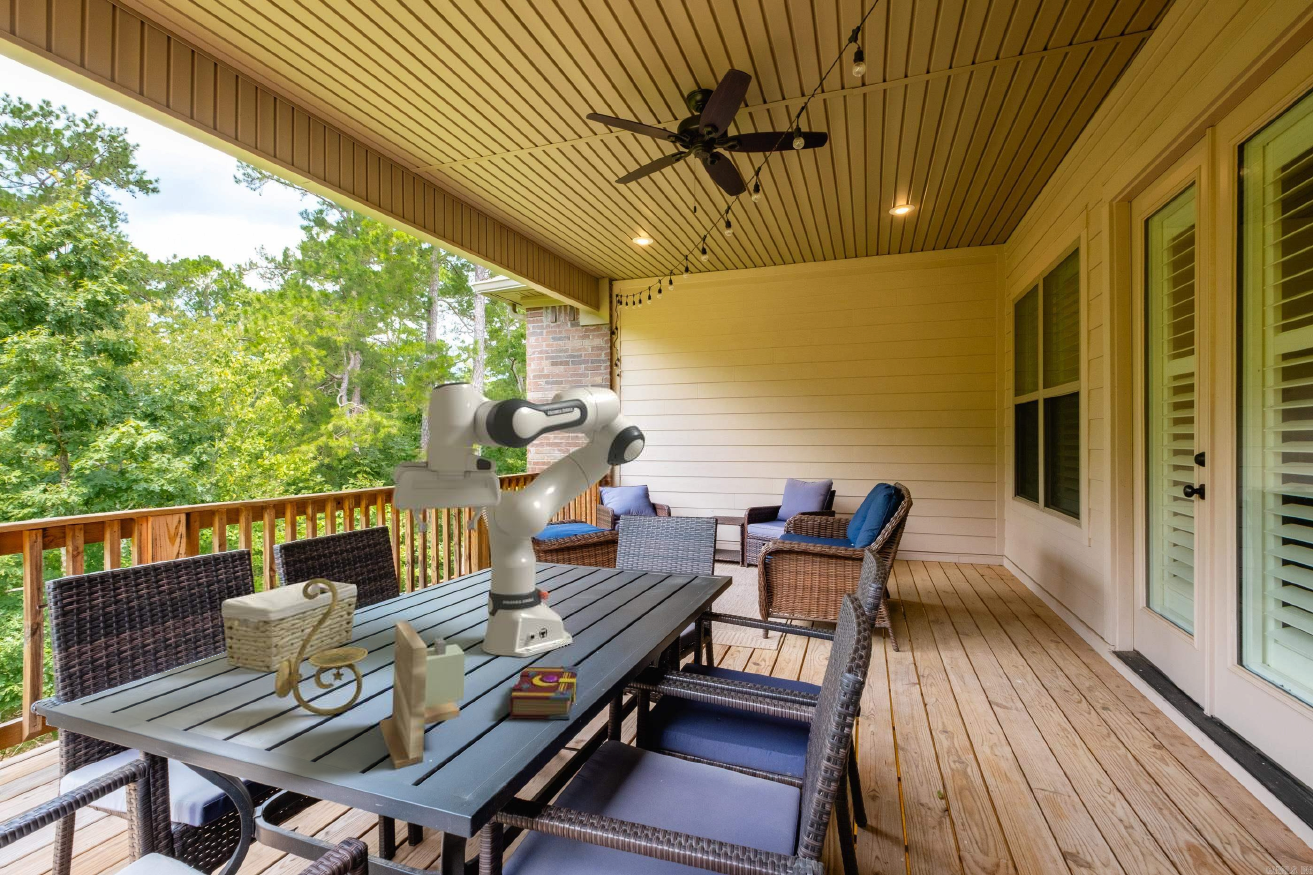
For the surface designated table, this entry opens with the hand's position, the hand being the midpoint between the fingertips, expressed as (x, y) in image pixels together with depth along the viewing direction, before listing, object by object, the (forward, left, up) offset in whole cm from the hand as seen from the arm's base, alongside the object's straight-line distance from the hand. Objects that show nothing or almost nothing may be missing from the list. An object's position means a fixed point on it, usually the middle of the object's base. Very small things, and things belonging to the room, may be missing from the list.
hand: (447, 530), depth 112 cm
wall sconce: (+20, -4, -33) cm, 39 cm away
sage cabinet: (+4, +14, -27) cm, 31 cm away
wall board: (+7, +14, -33) cm, 37 cm away
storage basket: (+24, -44, -34) cm, 60 cm away
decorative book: (-17, +11, -34) cm, 39 cm away
